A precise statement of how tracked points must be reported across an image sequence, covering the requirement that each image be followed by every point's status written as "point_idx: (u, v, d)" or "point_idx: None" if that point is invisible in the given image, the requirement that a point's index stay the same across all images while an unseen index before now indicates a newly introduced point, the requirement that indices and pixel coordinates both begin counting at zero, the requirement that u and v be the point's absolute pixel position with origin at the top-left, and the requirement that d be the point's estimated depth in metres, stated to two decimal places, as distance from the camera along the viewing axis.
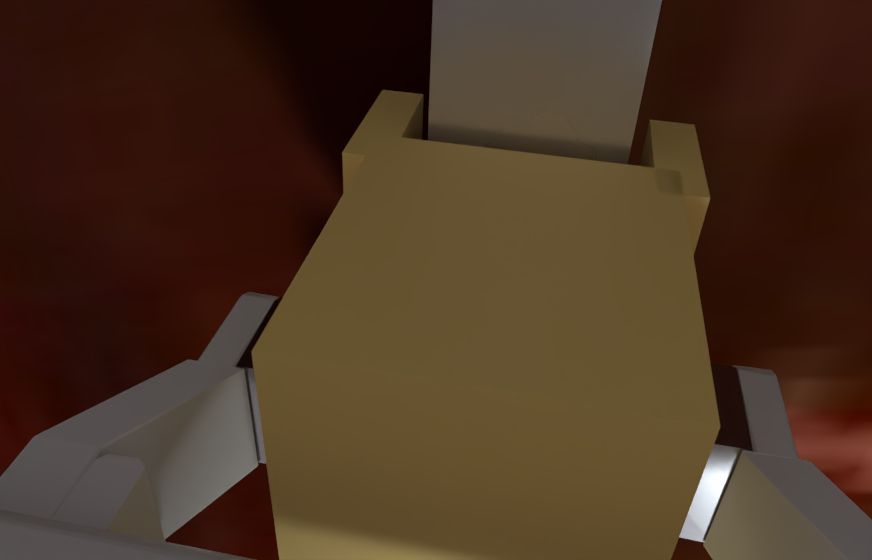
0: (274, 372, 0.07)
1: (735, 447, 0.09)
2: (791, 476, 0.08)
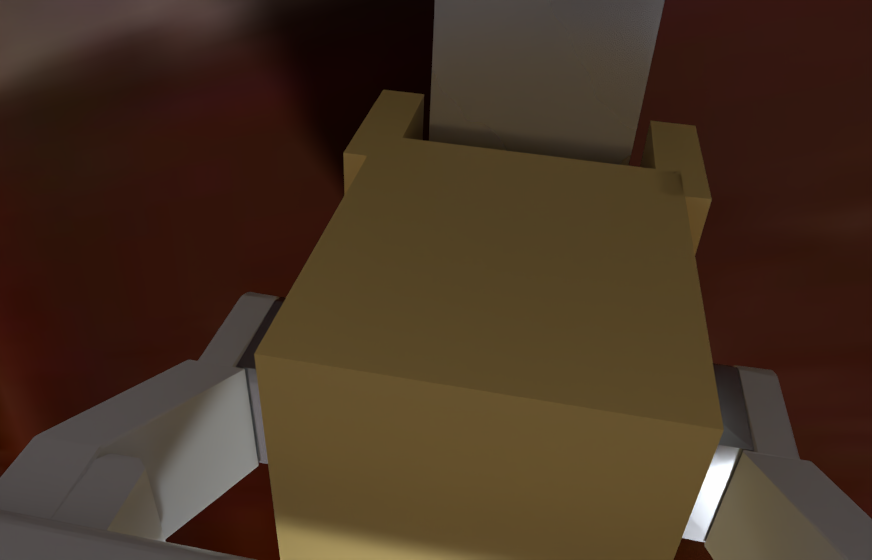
0: (277, 374, 0.07)
1: (736, 447, 0.09)
2: (792, 476, 0.08)
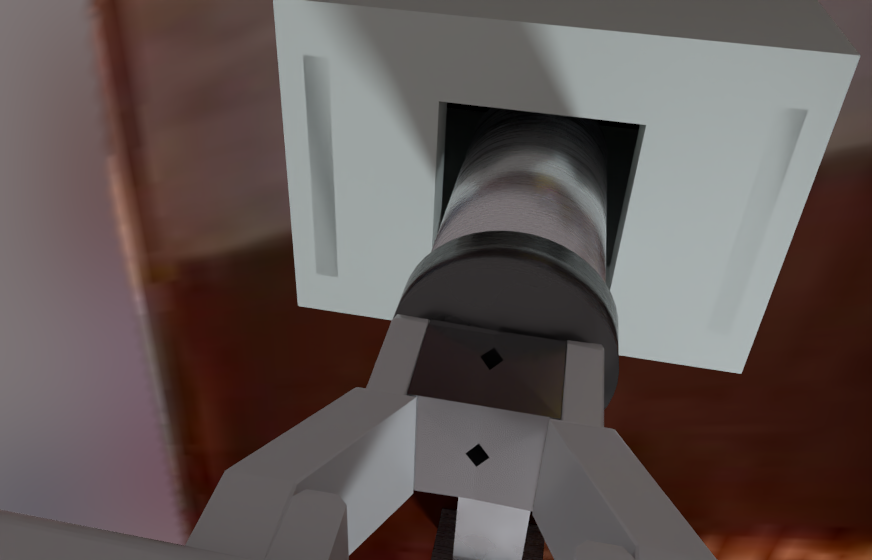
0: None
1: (544, 416, 0.09)
2: (591, 442, 0.09)
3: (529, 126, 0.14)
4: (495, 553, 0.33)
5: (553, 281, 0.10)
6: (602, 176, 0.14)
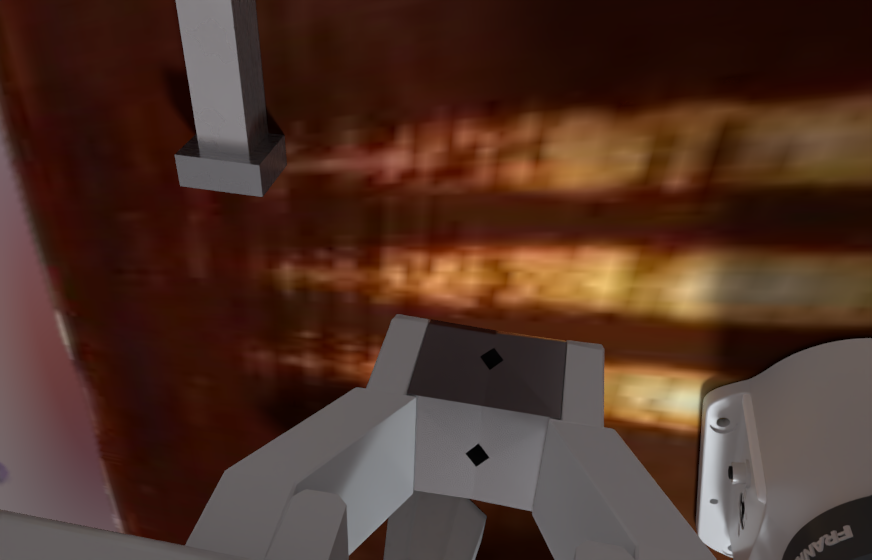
0: None
1: (544, 416, 0.09)
2: (590, 442, 0.09)
3: None
4: (226, 127, 0.42)
5: None
6: None
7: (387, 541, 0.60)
